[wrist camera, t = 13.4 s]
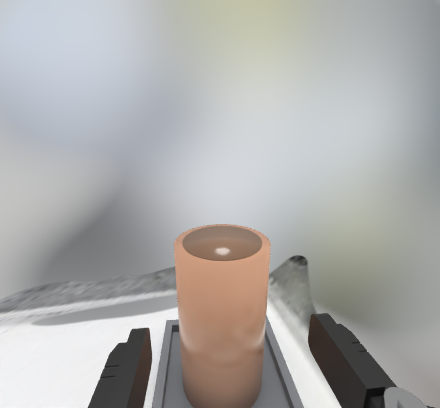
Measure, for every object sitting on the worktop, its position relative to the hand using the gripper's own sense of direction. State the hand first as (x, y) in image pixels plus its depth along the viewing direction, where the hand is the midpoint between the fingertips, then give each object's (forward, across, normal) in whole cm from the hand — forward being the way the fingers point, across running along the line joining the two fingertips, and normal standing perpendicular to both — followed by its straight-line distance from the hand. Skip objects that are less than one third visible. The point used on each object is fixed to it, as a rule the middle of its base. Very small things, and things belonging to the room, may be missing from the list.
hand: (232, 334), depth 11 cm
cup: (+4, 0, +8) cm, 9 cm away
